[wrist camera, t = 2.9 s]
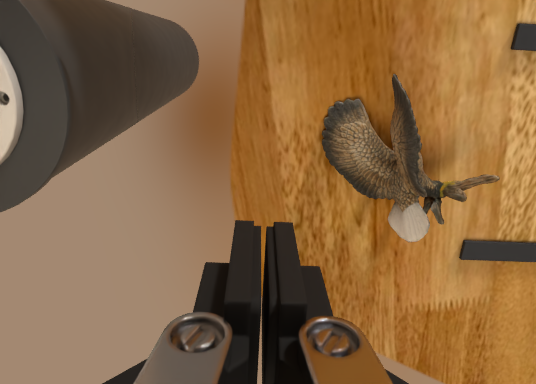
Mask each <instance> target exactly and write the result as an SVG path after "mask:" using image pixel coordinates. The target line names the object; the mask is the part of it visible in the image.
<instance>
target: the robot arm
mask: <svg viewBox="0 0 536 384" xmlns="http://www.w3.org/2000/svg"><path fill="white" fill-rule="evenodd" d="M7 95H8V97H9V99H8V98H7ZM23 112H24V110H23V100H22V92H21V89H20V86H19V82H18V79H17V75H16V73H15V71H14V69H13V67H12V65H11V63H10V61H9V59H8V57H7V55H6V54H5V52H4V51H3V49H2V48H1V47H0V165H1V164H2V163H3V162H4V161H5V160H6V159H7V158H8V157H9V156H10V154H11V152H12V151H13V149H14V147H15V146H16V144H17V142H18V139H19V136H20V133H21V129H22V123H23ZM260 317H261V226H254V221H240V220H236V221H235V228H234V235H233V242H232V249H231V256H230V263H212V262H206V263H205V266H204V270H203V274H202V279H201V282H200V286H199V290H198V294H197V298H196V302H195V306H194V310H193V313H188V314H185V315H182V316H179V317H177V318H176V319H174V320H173V321H171V322H170V323H169V324H168V326H167V327H166V328H165V329H164V331H163V333H162V334H161V336H160V338H159V340H158V342H157V343H156V345H155V347H154V348H153V350H152V352H151V354H150V356H149V357H148V359H146V360H144V361H142V362H141V363H139V364H137V365H135V366H133V367H132V368H130V369H128V370H126V371H124V372H123V373H121V374H119V375H117V376H115V377H114V378H112V379H110V380H108V381H106V382H105V383H103V384H257V372H258V354H259V335H260ZM262 384H408V383H407V382H405V381H403V380H402V379H400V378H399V377H397V376H395V375H394V374H392V373H390V372H389V371H387V370H386V369H384V367H383V365H382V364H381V362H380V360H379V358H378V357H377V355H376V353H375V352H374V350H373V348H372V346H371V345H370V343H369V341H368V339H367V338H366V336H365V335H364V333H363V332H362V331H361V330H360V328H358V327H357V326H356V325H354V324H353V323H351V322H349V321H347V320H345V319H342V318H338V317H334V316H333V313H332V310H331V306H330V302H329V299H328V295H327V291H326V288H325V284H324V280H323V277H322V273H321V269H320V267H319V266H300V260H299V255H298V249H297V244H296V239H295V233H294V228H293V223H289V222H274V226H273V227H268V226H267V228H266V245H265V262H264V280H263V297H262Z"/></svg>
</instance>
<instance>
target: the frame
mask: <svg viewBox="0 0 536 384" xmlns="http://www.w3.org/2000/svg"><path fill="white" fill-rule="evenodd" d="M511 49H513V50H531V51H536V24H517V27H516V31H515V35H514V39H513V43H512V47H511ZM459 258H460V259H461V260H488V261H518V262H536V243H523V242H494V241H466V240H464V241H463V245H462V249H461V253H460V257H459Z"/></svg>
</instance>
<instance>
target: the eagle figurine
mask: <svg viewBox="0 0 536 384" xmlns="http://www.w3.org/2000/svg"><path fill="white" fill-rule="evenodd" d="M392 85H393V89H394V97H395V101H394V102H395V109H394V112H393V116H392V121H391V128H390V133H391V139H392V145H393V150H394V151H393V150H391V149H389V148H388V147H387V146H386V145H385V144H384V143H383V142H382V140H381V139H380V138H379V136H378V135H377V133H376V132H375V130H374V129H373V128H372V126H371V123H370V121H369V118H368V115H367V113H366V111H365V108H364V105H363V104H362V102H361V100H360V99H355V100H354V101H352V100H350V99H346V100H345V101H344V103H342V102H340V101H337V102H335V104H334V106H333V107H329V109H328V117H326V118H325V119H324V125H325V128H326V130H324V131H323V132H322V135H323V137H324V139H323V140H322V145H323V149H324V151H325V152H326V157H327V158H328V159H329V162H330V164H331V165H333V166H334V167H335V169H336V170H337V171H338V172H339V173H340V174H341V175H344V178H345V179H346V180H347V181H348V182H349V183H350V184H352V185H353V187H354V188H355V189H356V190H357V191H358V192H360V193H361V194H363V195H366V196H367V197H369V198H374V199H377V198H380V199H384V198H387V199H389V200H391V199H394V200H395V203H394V205H393V207H392V210H391V212H390V214H389V217H388V221H389V224H390V226H391V227H392V228H393V229H394V230H395V231H396V232H397V233H398V235H399V236H400V237H401V238H403V239H405V240H406V241H408V242H413V241H414V242H416V241H418V240H420V239H421V238H423V237H424V236H425V234H426V233H427V232H428V229H429V226H430V223H429V220H428V217H427V215H426V214H427V212H428V210H429V209H430V207H431V210H432V212H433V213H434V215H435V217H436V220H437V221H438V223H439V224H444V220H443V218H442V215H441V203H442V201H441V198H444V197H446V196H447V197H450V198H452V199H455V200H458V201H461V202H464V201H466V199H467V197H466V194H465V193H464V190H466V189H469V188H471V187H474V186H477V185H480V184H488V183H493V182H496V181H498V180H499V177H498V176H495V175H481V176H479V177H473V178H469V179H466V180H464V181H449V182H443V183H441V182H439V181H432V180H431V179H430V178H428V177H427V175H426V174H425V172H424V170H423V160H422V155H421V153H420V150H421V147H422V144H421V143H420V136H419V135H418V134H417V132H418V128H417V127H416V121H415V118H414V115H413V110H412V108H411V103H410V100H409V98H408V96H407V94H406V91H405V90H404V89H403V87H402V85H401V83H400V81H399V80H398V77H397V75H396V74H393V77H392ZM419 196H422V197H425V198H424V207H423V209H422V207H421V206H420V205H419V200H418V198H419Z"/></svg>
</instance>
